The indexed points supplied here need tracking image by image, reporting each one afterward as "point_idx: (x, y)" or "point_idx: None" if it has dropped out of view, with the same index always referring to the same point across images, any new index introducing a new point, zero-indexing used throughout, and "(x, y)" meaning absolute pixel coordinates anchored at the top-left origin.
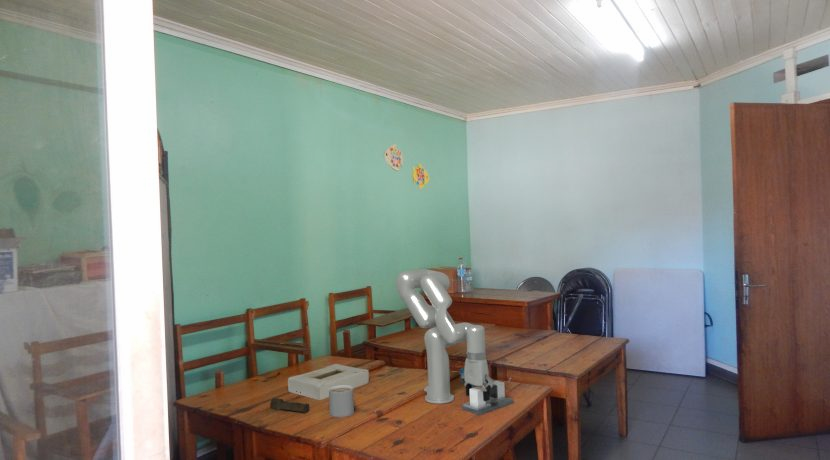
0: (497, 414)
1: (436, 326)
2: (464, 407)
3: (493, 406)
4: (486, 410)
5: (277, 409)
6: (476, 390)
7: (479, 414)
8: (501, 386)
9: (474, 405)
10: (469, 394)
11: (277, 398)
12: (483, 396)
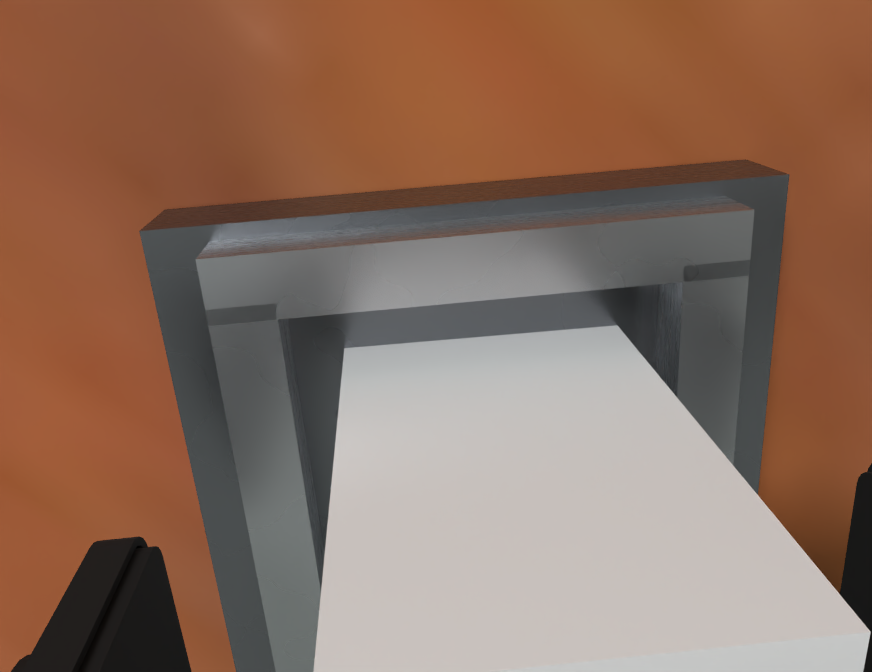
0: (11, 525)
1: None
2: (677, 182)
3: (241, 663)
4: (199, 451)
5: None
6: None
7: (164, 215)
8: None
9: (469, 358)
10: (858, 560)
11: None
12: (75, 636)
